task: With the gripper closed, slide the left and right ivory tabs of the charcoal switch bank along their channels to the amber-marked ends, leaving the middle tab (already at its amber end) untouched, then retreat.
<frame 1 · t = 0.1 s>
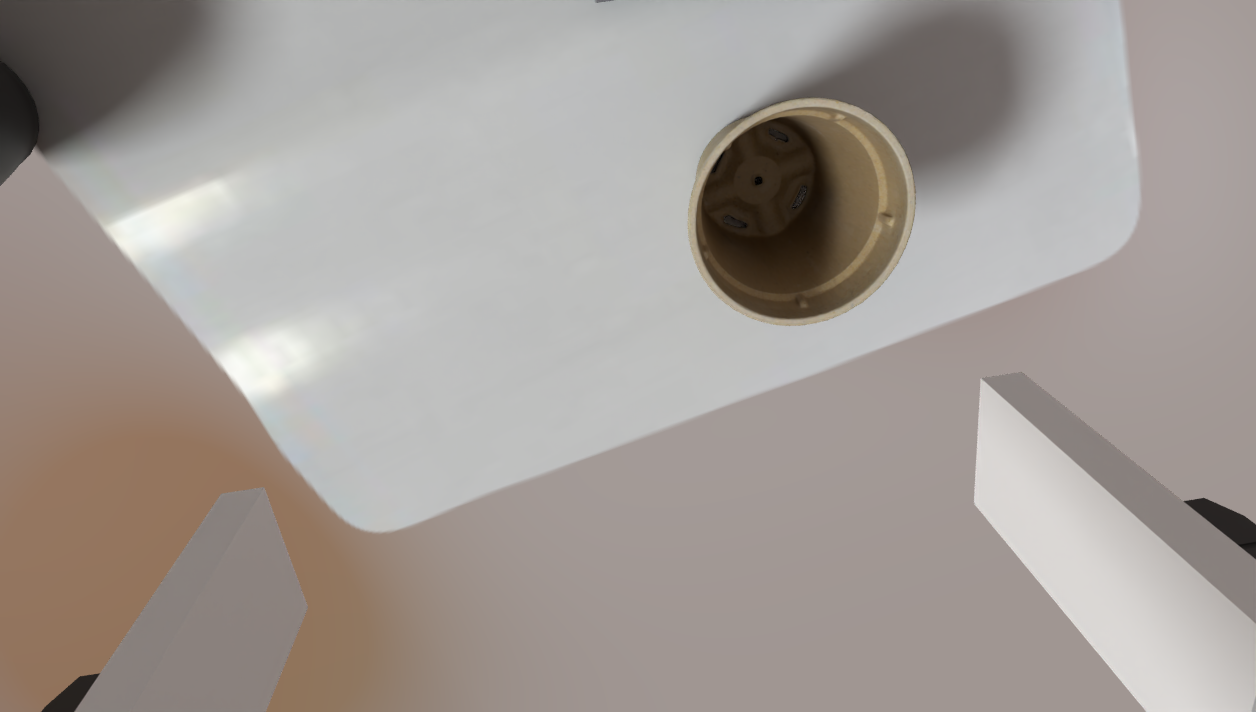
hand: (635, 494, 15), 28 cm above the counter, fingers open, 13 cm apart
flower pot: (754, 175, 41), on the counter
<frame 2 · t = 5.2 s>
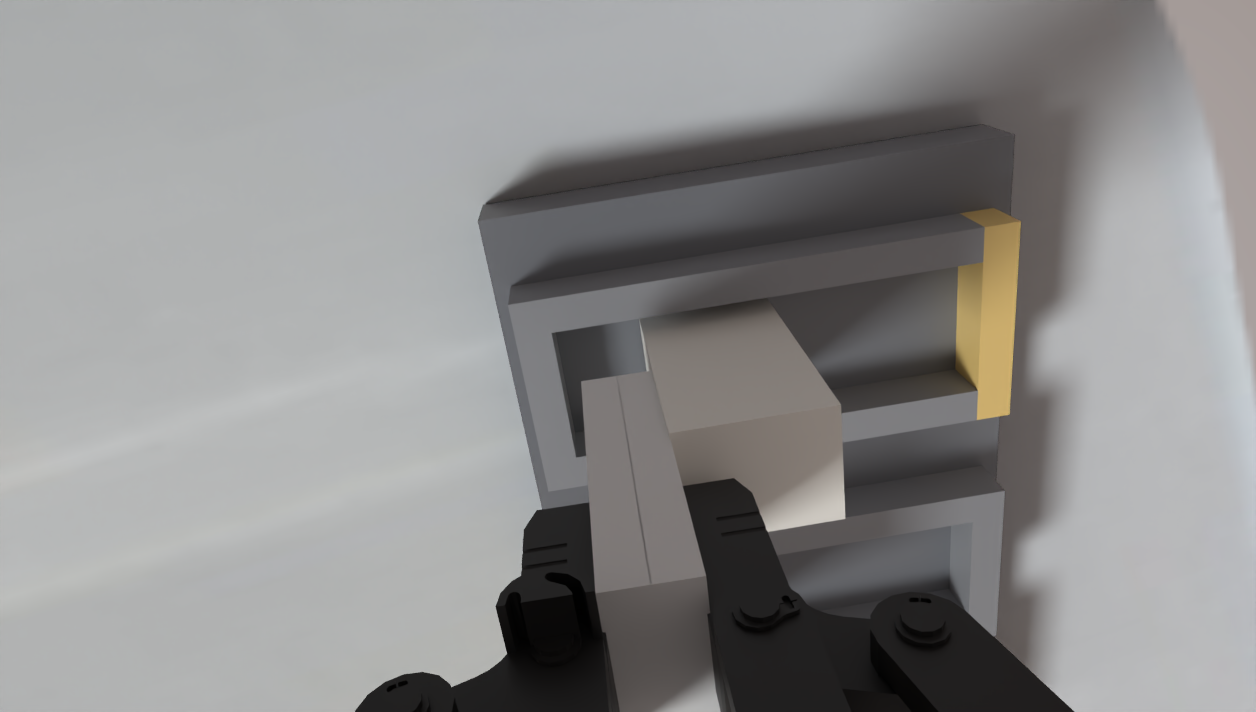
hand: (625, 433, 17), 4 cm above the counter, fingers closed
switch bank: (766, 539, 24), on the counter
tab1: (730, 406, 17), point 4 cm above the counter, slide at 1.7 cm, touching gripper
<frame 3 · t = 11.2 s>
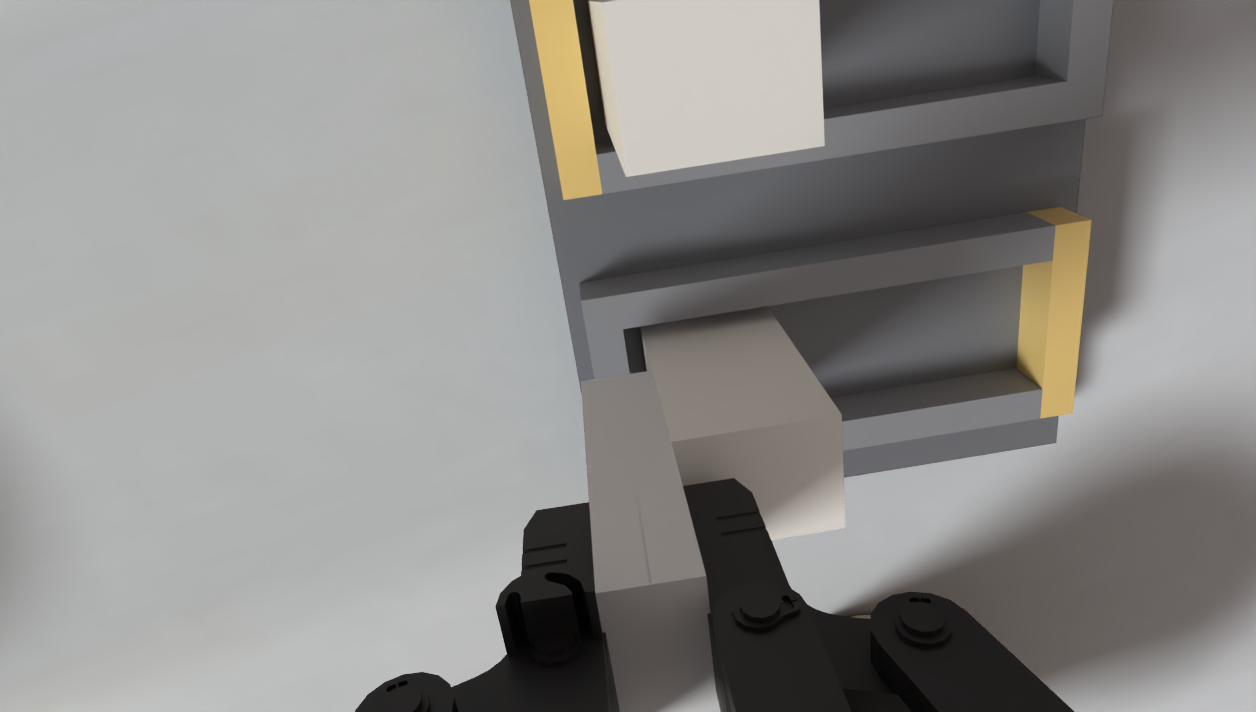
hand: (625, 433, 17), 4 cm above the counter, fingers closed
switch bank: (792, 27, 18), on the counter
tab2: (689, 63, 14), point 4 cm above the counter, slide at 0.0 cm
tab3: (730, 414, 17), point 4 cm above the counter, slide at 0.1 cm, touching gripper
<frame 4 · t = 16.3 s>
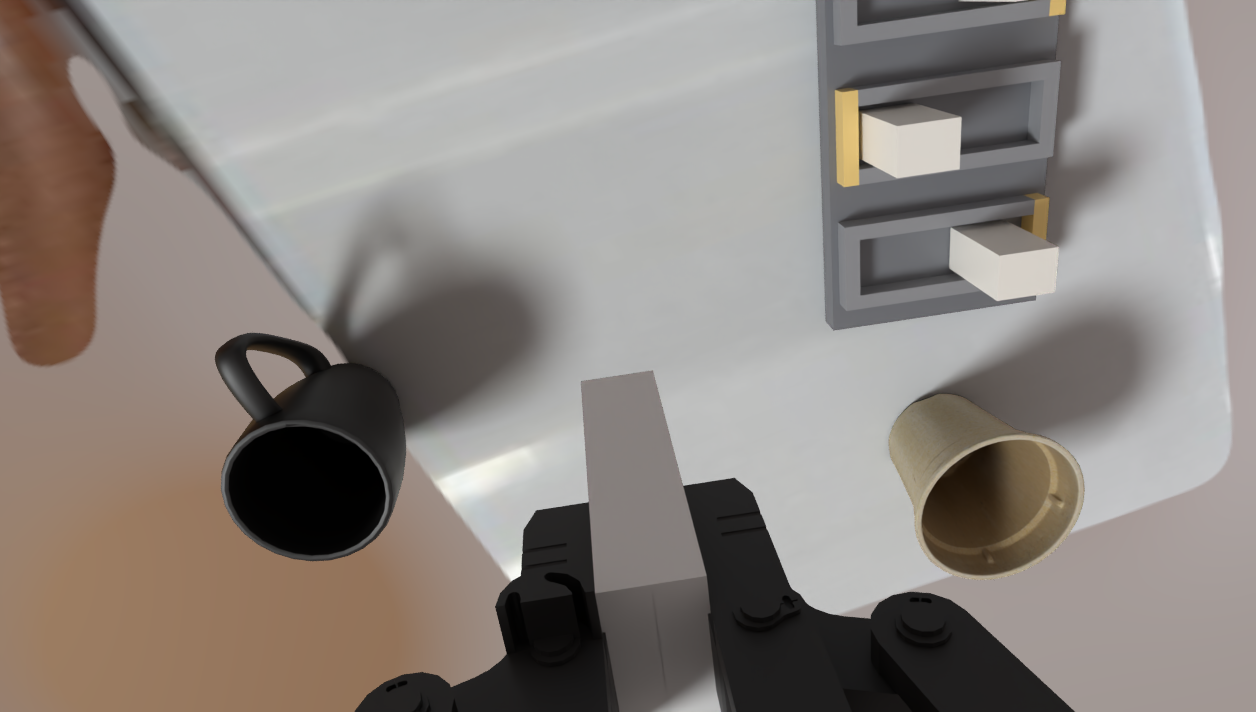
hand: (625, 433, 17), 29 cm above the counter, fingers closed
switch bank: (928, 118, 44), on the counter
mug: (337, 376, 48), on the counter
flower pot: (932, 432, 53), on the counter
tab2: (905, 138, 40), point 4 cm above the counter, slide at 0.0 cm
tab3: (1000, 258, 43), point 4 cm above the counter, slide at 5.2 cm
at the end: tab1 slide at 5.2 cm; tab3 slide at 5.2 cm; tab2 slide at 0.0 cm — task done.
